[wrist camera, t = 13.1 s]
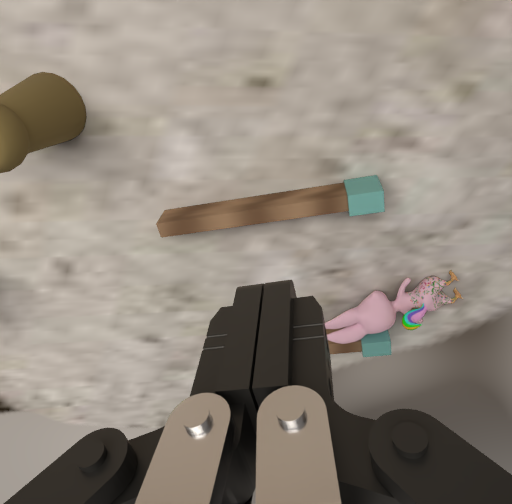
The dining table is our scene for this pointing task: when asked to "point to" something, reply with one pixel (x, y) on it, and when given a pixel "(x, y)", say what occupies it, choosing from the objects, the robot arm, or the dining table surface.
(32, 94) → the cork
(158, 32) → the dining table surface
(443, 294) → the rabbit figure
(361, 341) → the channel rails
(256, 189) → the dining table surface
